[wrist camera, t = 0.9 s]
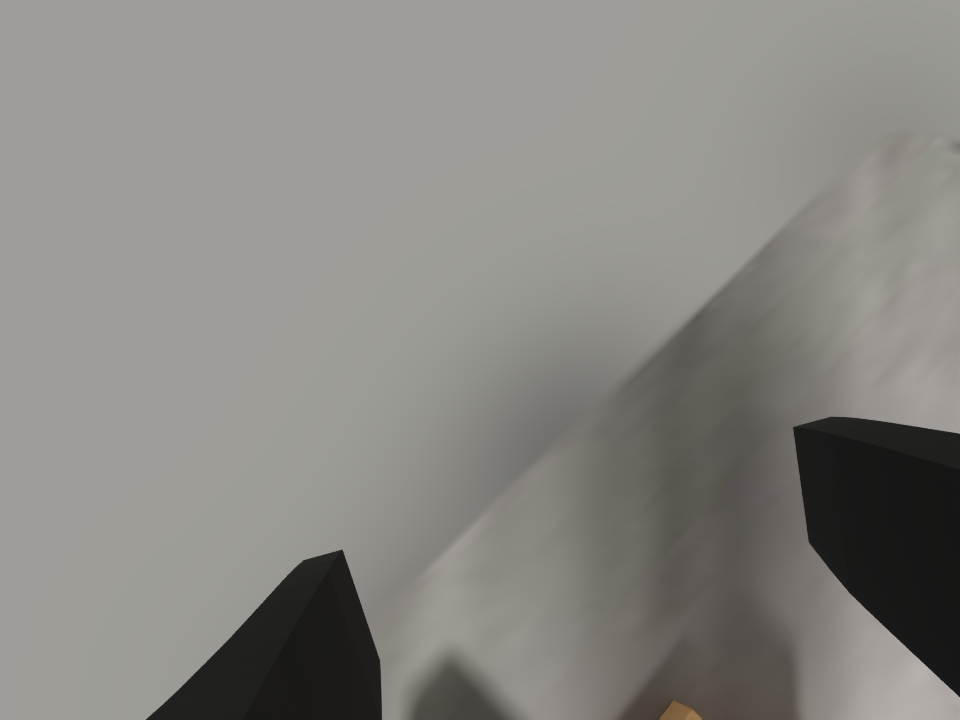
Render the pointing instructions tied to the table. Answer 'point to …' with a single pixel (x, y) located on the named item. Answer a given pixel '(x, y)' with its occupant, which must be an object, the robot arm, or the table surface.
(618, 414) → the table surface
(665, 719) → the bearing beam
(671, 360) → the table surface
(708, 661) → the table surface
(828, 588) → the table surface
